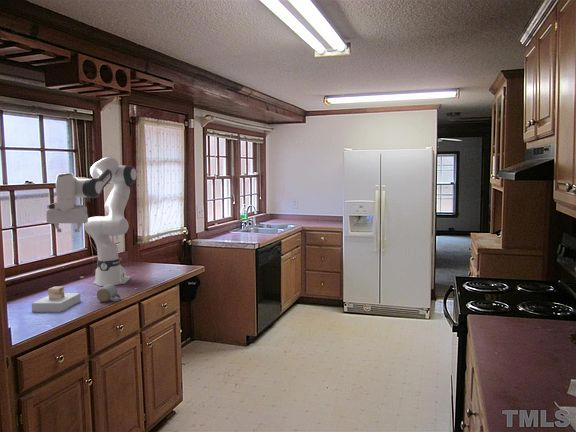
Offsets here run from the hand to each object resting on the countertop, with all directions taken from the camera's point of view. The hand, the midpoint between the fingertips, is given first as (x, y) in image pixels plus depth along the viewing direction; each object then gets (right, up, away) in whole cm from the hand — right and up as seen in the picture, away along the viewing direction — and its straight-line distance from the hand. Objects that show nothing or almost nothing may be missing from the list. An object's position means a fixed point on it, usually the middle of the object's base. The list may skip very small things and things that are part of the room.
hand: (68, 232), depth 240 cm
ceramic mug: (+21, -34, -1) cm, 41 cm away
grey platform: (-1, -35, -11) cm, 37 cm away
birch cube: (-1, -31, -11) cm, 33 cm away
